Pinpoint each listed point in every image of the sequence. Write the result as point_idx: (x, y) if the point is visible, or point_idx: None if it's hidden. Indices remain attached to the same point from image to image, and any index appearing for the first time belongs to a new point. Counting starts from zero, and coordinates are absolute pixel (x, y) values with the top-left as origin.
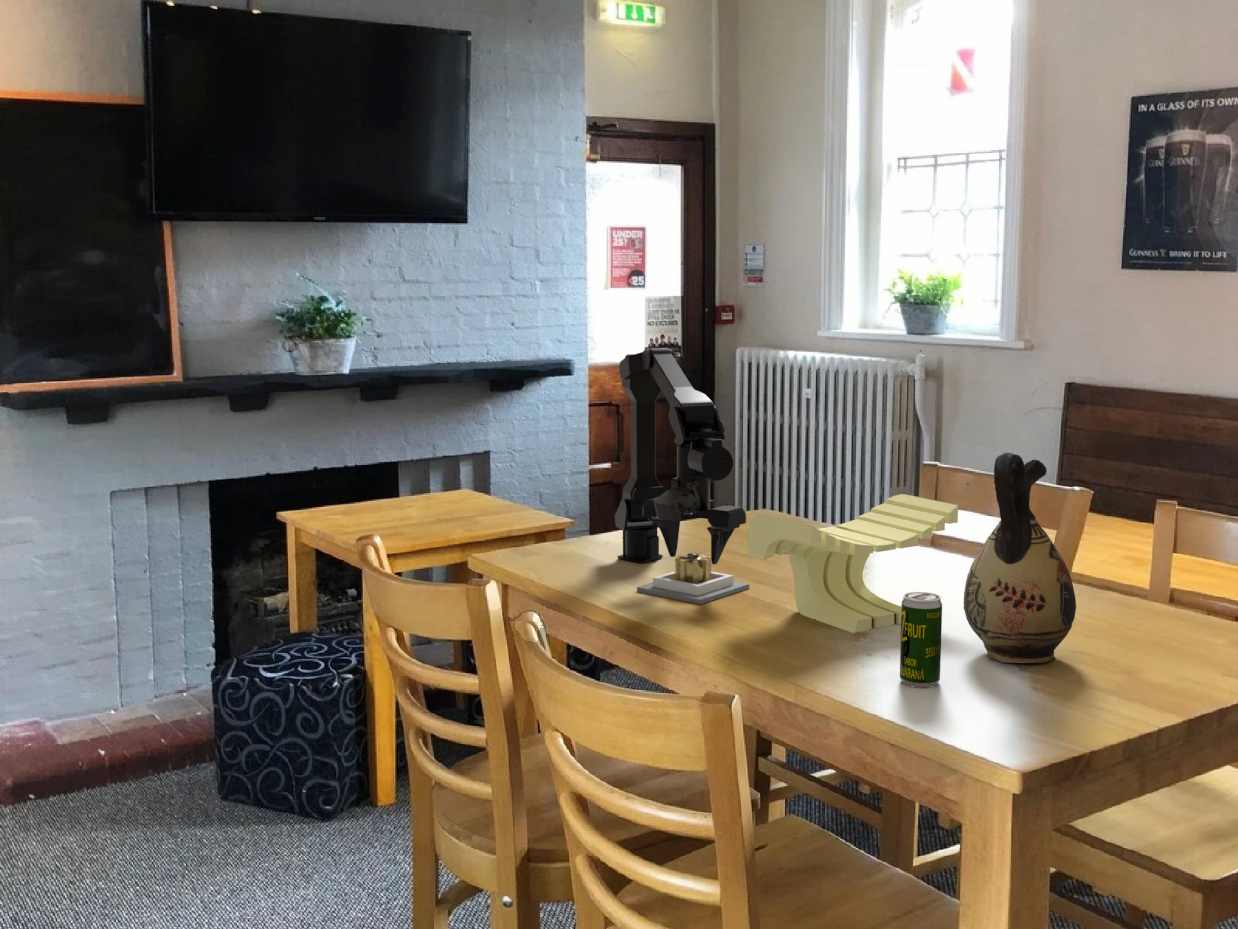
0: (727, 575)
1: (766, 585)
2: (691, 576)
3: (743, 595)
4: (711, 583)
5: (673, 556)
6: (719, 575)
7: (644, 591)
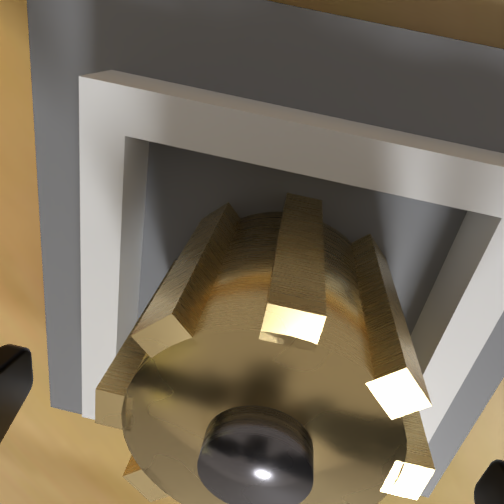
0: None
1: (42, 449)
2: (232, 253)
3: (3, 281)
4: (84, 233)
5: (486, 473)
6: None
7: None
